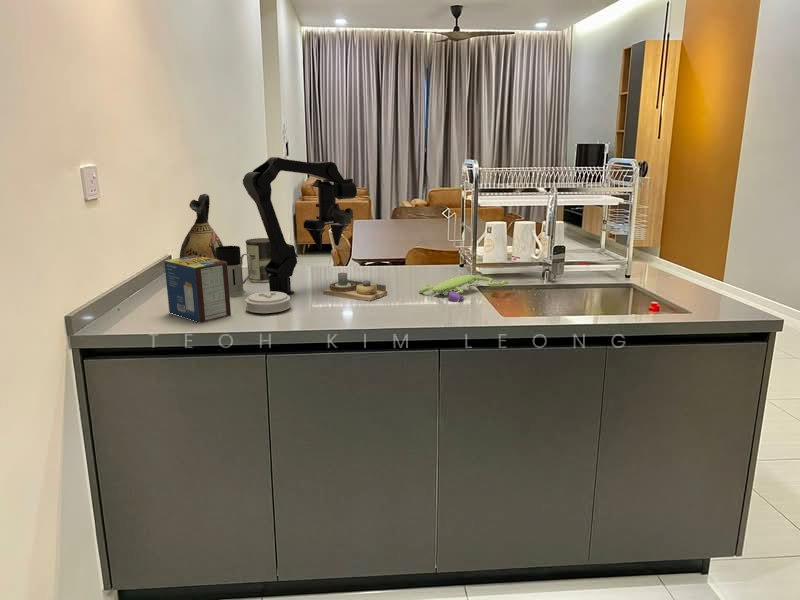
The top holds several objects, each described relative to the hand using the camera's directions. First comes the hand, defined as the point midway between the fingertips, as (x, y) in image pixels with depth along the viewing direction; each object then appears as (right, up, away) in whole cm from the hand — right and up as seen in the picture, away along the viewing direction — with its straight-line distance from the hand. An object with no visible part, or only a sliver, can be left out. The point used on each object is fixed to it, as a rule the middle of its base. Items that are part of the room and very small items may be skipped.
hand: (328, 247), depth 204 cm
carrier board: (+10, -16, -9) cm, 21 cm away
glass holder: (-28, -16, -10) cm, 34 cm away
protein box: (-33, -22, -32) cm, 51 cm away
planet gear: (+6, -14, -7) cm, 17 cm away
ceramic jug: (-45, -11, +12) cm, 48 cm away
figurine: (+45, -16, -7) cm, 48 cm away
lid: (-14, -21, -27) cm, 37 cm away
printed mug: (-25, -10, +12) cm, 30 cm away
